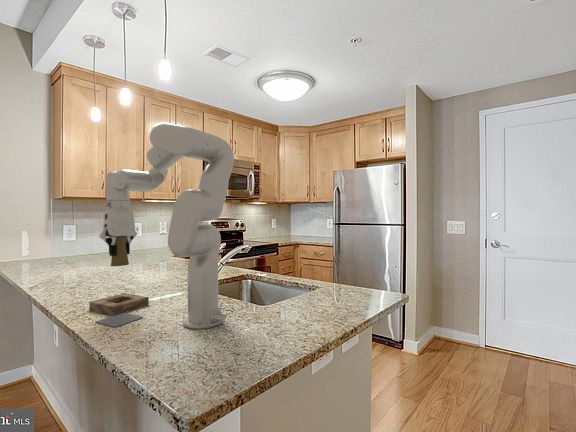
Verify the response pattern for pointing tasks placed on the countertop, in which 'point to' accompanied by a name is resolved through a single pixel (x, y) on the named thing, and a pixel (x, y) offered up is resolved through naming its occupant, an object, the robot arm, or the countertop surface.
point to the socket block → (118, 304)
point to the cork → (120, 252)
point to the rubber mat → (119, 320)
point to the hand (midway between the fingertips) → (119, 254)
